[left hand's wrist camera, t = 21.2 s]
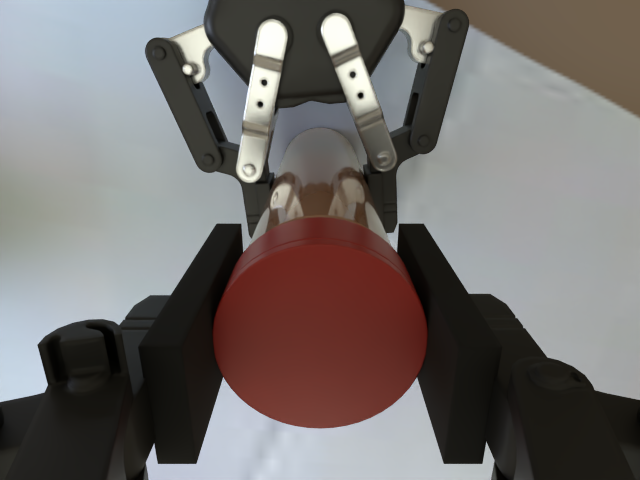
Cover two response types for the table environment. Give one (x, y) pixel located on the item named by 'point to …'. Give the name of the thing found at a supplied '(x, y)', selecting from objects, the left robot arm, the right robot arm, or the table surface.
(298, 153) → the jar
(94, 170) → the table surface
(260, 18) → the right robot arm
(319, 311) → the lid
